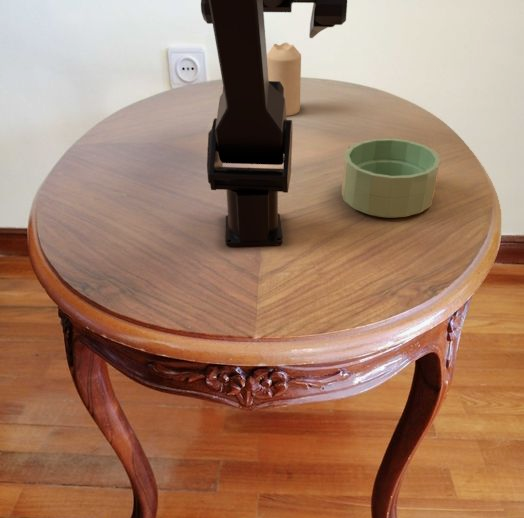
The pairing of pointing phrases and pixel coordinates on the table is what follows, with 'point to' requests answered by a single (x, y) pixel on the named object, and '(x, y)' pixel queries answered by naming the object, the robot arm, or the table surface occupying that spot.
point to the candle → (286, 73)
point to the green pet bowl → (389, 177)
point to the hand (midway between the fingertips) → (279, 34)
